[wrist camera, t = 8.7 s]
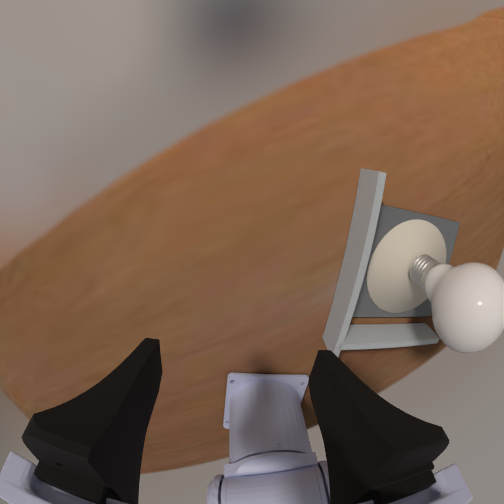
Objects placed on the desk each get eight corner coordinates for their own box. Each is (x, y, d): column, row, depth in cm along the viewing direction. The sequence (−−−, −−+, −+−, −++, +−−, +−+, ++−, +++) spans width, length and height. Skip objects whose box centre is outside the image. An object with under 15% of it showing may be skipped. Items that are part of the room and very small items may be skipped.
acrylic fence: (420, 334, 25) (433, 350, 23) (322, 337, 24) (331, 358, 21) (463, 196, 20) (483, 203, 18) (360, 168, 19) (378, 171, 17)
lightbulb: (451, 244, 22) (533, 296, 11) (423, 302, 23) (489, 371, 13) (408, 220, 20) (504, 274, 10) (376, 288, 22) (448, 370, 12)
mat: (428, 314, 25) (430, 316, 24) (347, 315, 24) (349, 317, 23) (457, 222, 21) (460, 223, 21) (375, 203, 20) (377, 204, 20)
